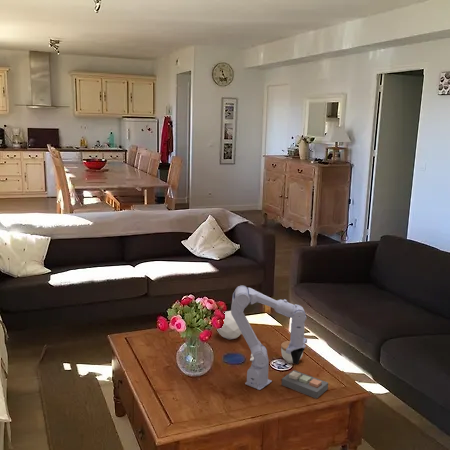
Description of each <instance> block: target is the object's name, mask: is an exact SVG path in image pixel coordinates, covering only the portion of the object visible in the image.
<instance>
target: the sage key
mask: <svg viewBox="0 0 450 450" xmlns="http://www.w3.org/2000/svg"><path fill="white" fill-rule="evenodd" d="M311 377H312V376H311ZM311 377H308V376H305V375H302V376H301V377H300V378H299V382H302V383H305V384H308V383H309V382H310V381H311Z"/></svg>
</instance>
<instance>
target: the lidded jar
mask: <svg viewBox="0 0 450 450" xmlns="http://www.w3.org/2000/svg"><path fill="white" fill-rule="evenodd" d="M289 343H290V340H285V341H283V342H282V343H281V344H280V351H281V357H282V358H283V360H284V361H285V360H286V361H287V362H286V361H285V362H286V363H288V362H289V363H288V364H294V363H293V360H292V356H291V354H288V353H286V348H287V347H288V345H289ZM303 354H304V352H303V353H302V355H301V358H300V360H301V359H302V358H303Z"/></svg>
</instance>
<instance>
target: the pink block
mask: <svg viewBox="0 0 450 450" xmlns="http://www.w3.org/2000/svg"><path fill="white" fill-rule="evenodd" d="M322 381H323V380H322ZM322 381H319V380H316V379H312V380H311V381H310V382H309V385H310V386H312V387H315V388H319V387H320V386H321V384H322Z"/></svg>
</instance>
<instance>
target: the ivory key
mask: <svg viewBox="0 0 450 450" xmlns="http://www.w3.org/2000/svg"><path fill="white" fill-rule="evenodd" d="M292 371H293V370H292ZM292 371H291V372H292ZM295 371H296V370H295ZM295 371H293V372H292V373H290V372H289V373H290V374H289V373H288V374H289V378H291V379H294V380H298V379H299V378H300V377H301V374H300V373H297V372H295Z"/></svg>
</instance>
